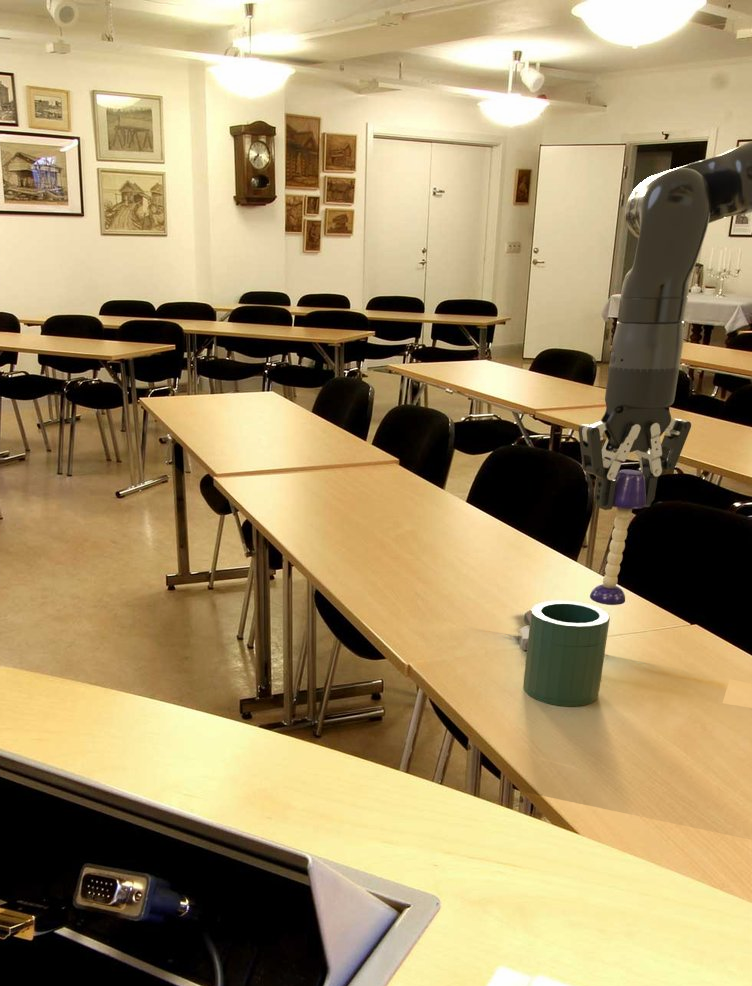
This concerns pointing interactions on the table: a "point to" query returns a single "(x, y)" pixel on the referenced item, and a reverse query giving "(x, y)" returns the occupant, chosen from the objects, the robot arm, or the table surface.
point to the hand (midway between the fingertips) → (623, 506)
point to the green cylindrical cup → (565, 652)
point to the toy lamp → (620, 533)
